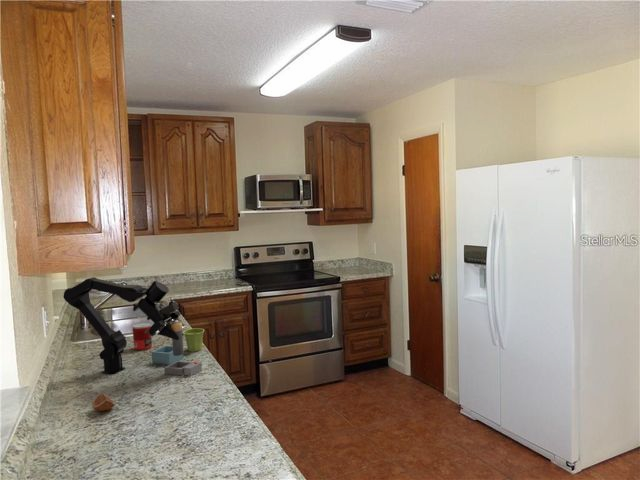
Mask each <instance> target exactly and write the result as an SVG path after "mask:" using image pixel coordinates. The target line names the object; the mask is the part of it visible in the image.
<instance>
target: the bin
mask: <svg viewBox="0 0 640 480" xmlns="http://www.w3.org/2000/svg"><path fill="white" fill-rule="evenodd" d="M183 359H184V354H182V355H179V356H174V355H173V345H164V346H162V347H160V348H157V349H155V350H153V351H151V363H153V364H154V365H155V364H156V365H162V364H163V365H164V366H168V365H170V364H172V363H174V362H176V361H182V360H183ZM153 364H152V365H153ZM163 365H162V366H163Z"/></svg>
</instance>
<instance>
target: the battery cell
mask: <svg viewBox="0 0 640 480" xmlns="http://www.w3.org/2000/svg"><path fill="white" fill-rule="evenodd" d="M171 328H172V329H173V331H174V332H175V333H176V334H177V335H178V337H179V339H178V340H175V339H172V338H171V341H172V343H171V346H173V355H174V356H179V355H182V354H183V355H184V353H185V352H184V335H182V332H183V322H182V321H179V319H178V320H176V321H174V322H172V323H171Z"/></svg>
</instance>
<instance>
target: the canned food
mask: <svg viewBox="0 0 640 480" xmlns="http://www.w3.org/2000/svg"><path fill="white" fill-rule="evenodd" d="M151 326H152V325H151V323H149V322H148V323H147V322H144V323H142V322H141V323H137V324H133V325H132V336H133V337H132V338H133V348H134V350H135V351H139V352H141V351H142V350H143V351H147V350H150V349H152V347H153V341H152V340H153V339H152V336H151V335H150V334H149V333H148V330H149V329H150V327H151Z"/></svg>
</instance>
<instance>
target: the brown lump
mask: <svg viewBox="0 0 640 480" xmlns="http://www.w3.org/2000/svg"><path fill="white" fill-rule="evenodd" d="M115 405H116V403H115V402H114V401H113V400H112V399H111V398H110V397H109V396H107V395H106V394H105V393H104V392H102V391H100V393H99V394H98V395H97V396H96V397H95V398H94V400H93V401H92V404H91V407H92V409H93V410H94V411H100V412H105V410H106V411H109V410H111V409H112V408H113V407H114V406H115Z"/></svg>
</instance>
